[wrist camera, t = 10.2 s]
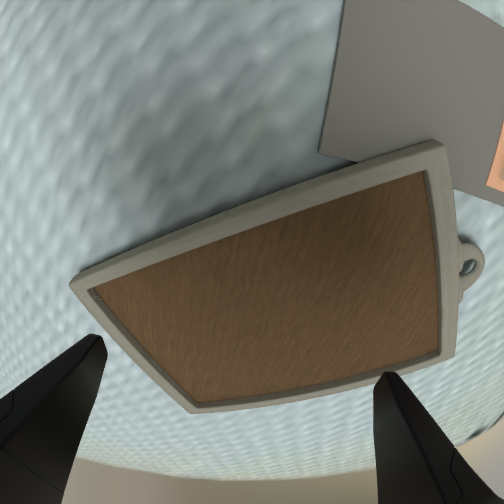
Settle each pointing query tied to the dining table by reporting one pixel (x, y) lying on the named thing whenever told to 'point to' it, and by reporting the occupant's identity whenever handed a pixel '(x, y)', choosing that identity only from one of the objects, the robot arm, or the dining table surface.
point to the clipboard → (295, 288)
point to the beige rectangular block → (502, 173)
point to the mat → (420, 87)
